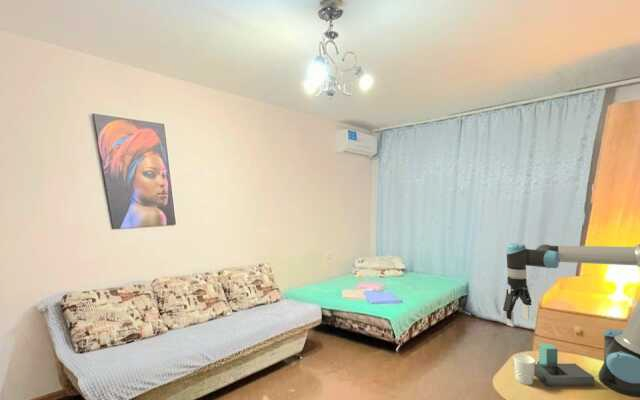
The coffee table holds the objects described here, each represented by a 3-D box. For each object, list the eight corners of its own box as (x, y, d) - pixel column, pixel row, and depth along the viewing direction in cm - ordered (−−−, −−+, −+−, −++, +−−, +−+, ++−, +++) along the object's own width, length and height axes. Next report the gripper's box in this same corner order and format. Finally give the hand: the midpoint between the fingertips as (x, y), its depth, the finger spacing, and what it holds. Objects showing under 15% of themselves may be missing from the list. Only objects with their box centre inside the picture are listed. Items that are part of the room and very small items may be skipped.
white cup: (538, 386, 131) (538, 364, 131) (518, 385, 133) (518, 362, 132) (529, 375, 139) (529, 354, 138) (510, 374, 140) (510, 352, 140)
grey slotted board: (575, 372, 141) (575, 363, 140) (594, 386, 131) (594, 376, 130) (531, 372, 141) (531, 364, 141) (546, 386, 131) (546, 377, 131)
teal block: (549, 363, 148) (549, 343, 147) (557, 369, 143) (557, 348, 142) (539, 363, 148) (539, 343, 147) (546, 369, 143) (546, 348, 142)
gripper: (522, 270, 152) (523, 312, 153) (493, 280, 140) (495, 325, 140) (539, 273, 146) (540, 317, 146) (510, 283, 133) (512, 331, 134)
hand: (518, 321), depth 143 cm, fingers open, 13 cm apart
